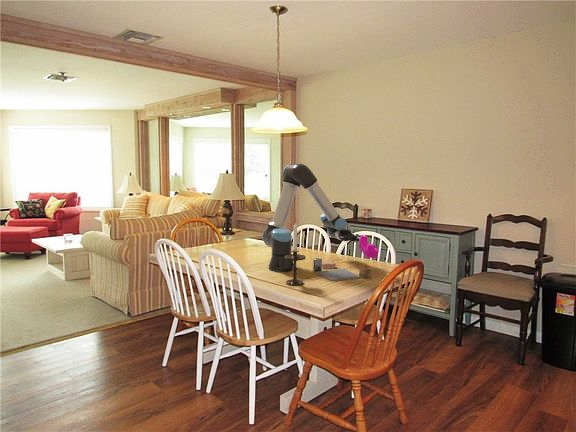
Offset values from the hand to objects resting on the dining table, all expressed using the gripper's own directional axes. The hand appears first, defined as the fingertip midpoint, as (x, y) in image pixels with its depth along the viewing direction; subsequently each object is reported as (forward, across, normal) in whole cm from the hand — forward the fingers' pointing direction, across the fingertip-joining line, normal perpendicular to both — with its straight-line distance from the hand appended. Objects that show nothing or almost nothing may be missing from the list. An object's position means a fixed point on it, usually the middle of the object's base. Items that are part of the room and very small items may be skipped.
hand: (363, 240), depth 245 cm
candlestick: (+12, +49, -18) cm, 54 cm away
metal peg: (-8, +26, -18) cm, 32 cm away
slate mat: (+6, +20, -18) cm, 27 cm away
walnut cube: (+14, +7, -18) cm, 24 cm away
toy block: (+4, 0, -6) cm, 8 cm away
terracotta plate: (-14, +16, -18) cm, 28 cm away
